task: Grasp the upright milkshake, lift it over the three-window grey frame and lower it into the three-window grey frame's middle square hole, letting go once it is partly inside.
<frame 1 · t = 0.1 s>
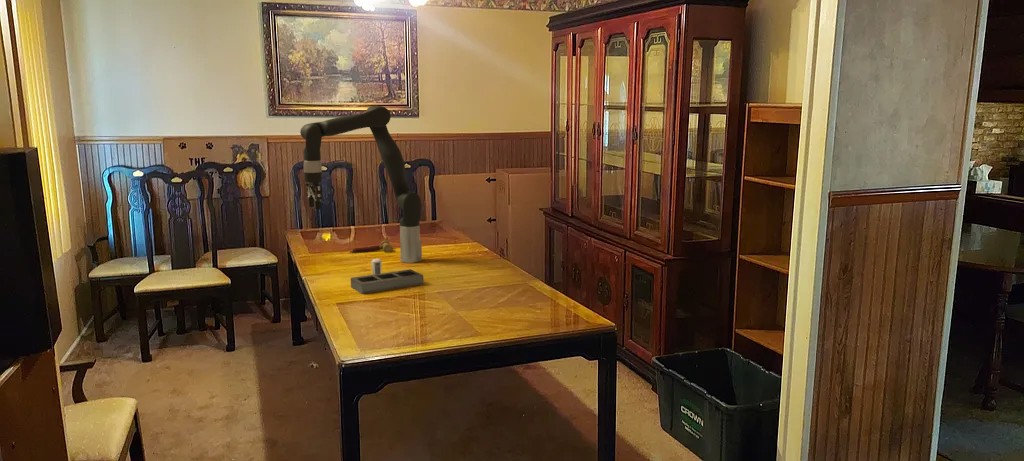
hand: (314, 208, 304), 29 cm above the table, fingers open, 8 cm apart
three-window grey frame: (387, 285, 289), on the table
gavel: (370, 252, 354), on the table
milkshake: (376, 280, 299), on the table
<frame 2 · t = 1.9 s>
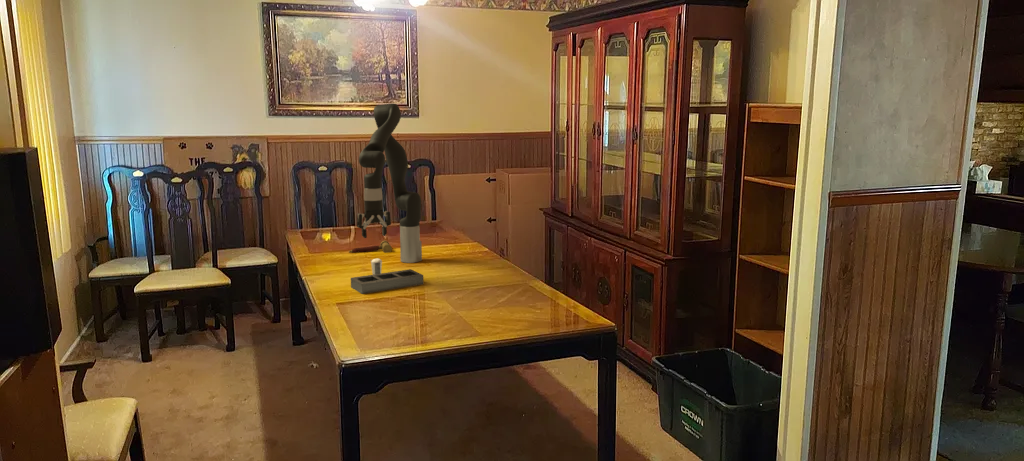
hand: (374, 236, 296), 19 cm above the table, fingers open, 8 cm apart
nothing on the table moved.
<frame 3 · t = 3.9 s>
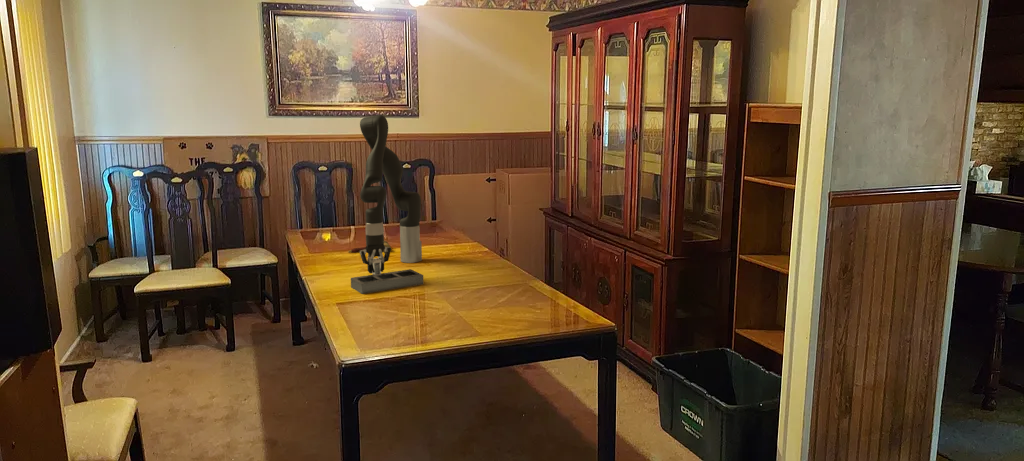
hand: (376, 272, 298), 3 cm above the table, fingers closed on milkshake, 4 cm apart
milkshake: (376, 279, 299), on the table, touching gripper
everything else where it was.
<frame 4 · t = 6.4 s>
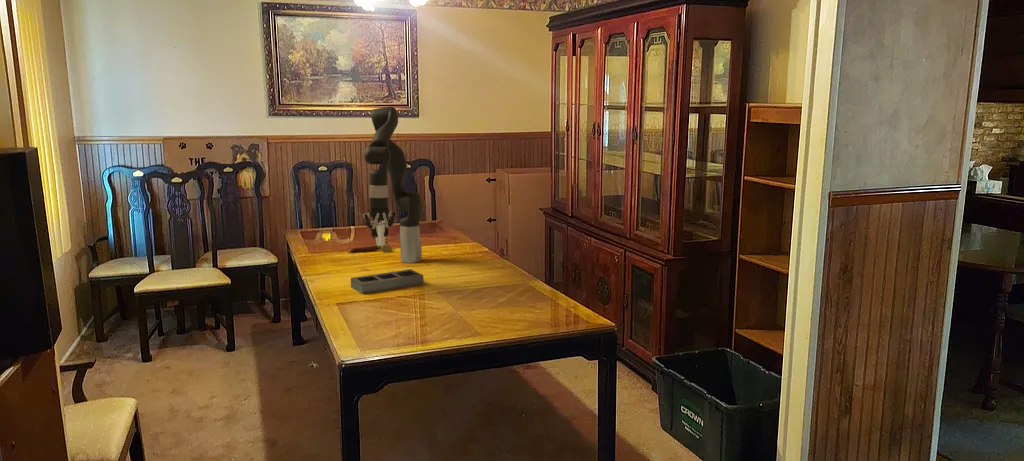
hand: (379, 237, 288), 20 cm above the table, fingers closed on milkshake, 4 cm apart
milkshake: (379, 245, 289), point 17 cm above the table, touching gripper
everything else where it was.
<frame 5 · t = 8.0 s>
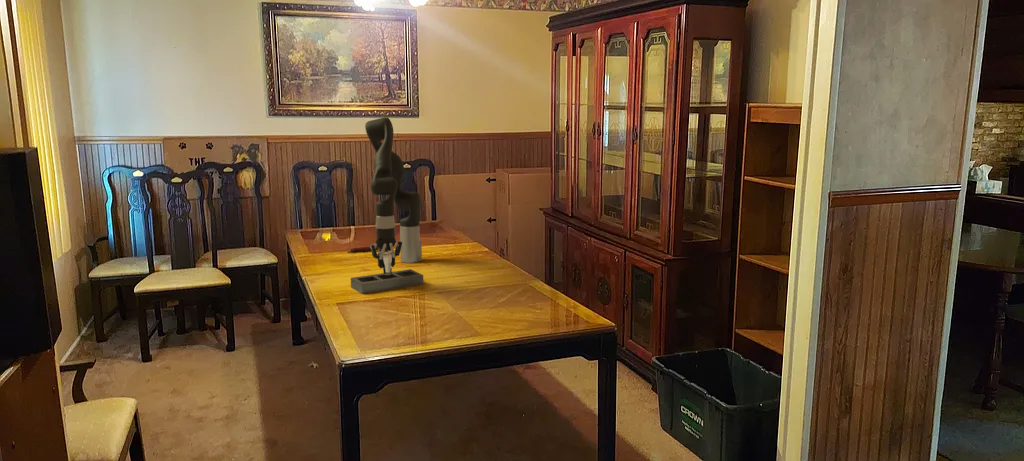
hand: (386, 267, 288), 8 cm above the table, fingers closed on milkshake, 4 cm apart
milkshake: (386, 275, 288), point 5 cm above the table, touching gripper
when the fingers open (5 cm above the table, at t = 9.0 s): milkshake drops 2 cm, on the table.
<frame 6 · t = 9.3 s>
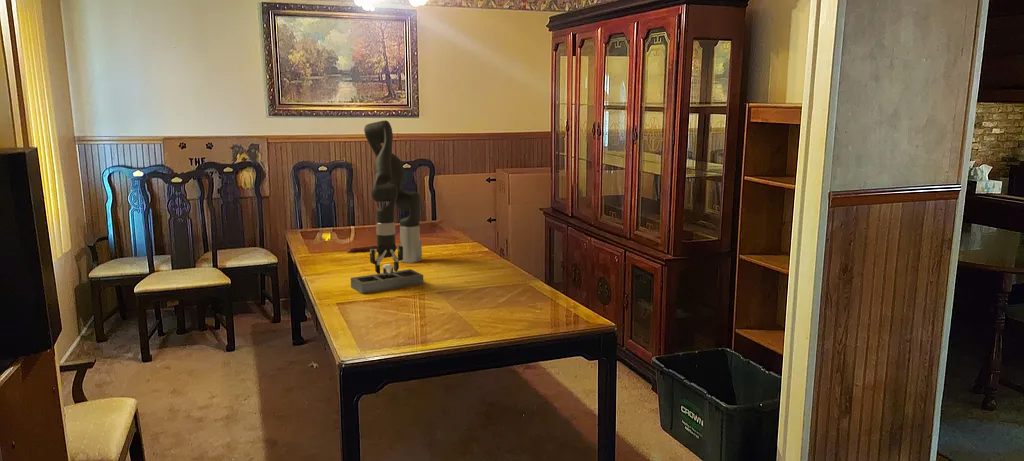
hand: (387, 272, 288), 6 cm above the table, fingers open, 7 cm apart
milkshake: (387, 286, 289), on the table
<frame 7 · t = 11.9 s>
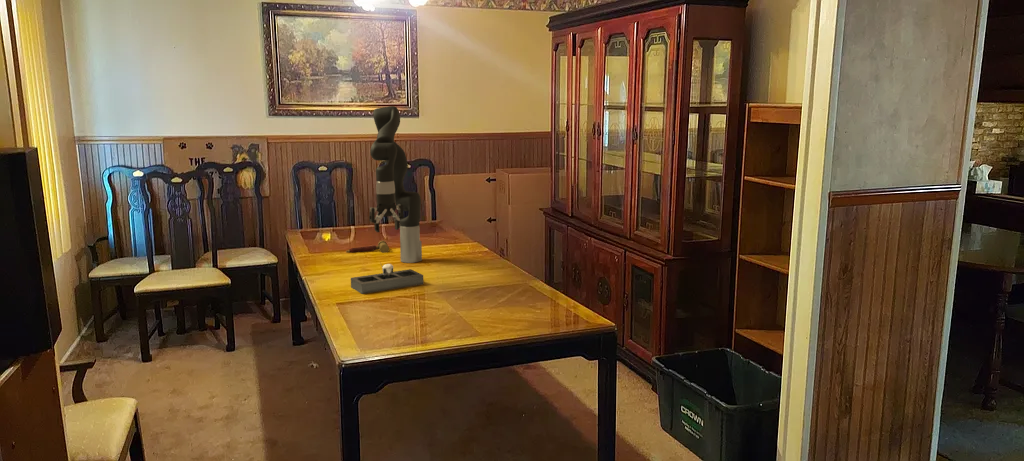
hand: (387, 230, 289), 22 cm above the table, fingers open, 8 cm apart
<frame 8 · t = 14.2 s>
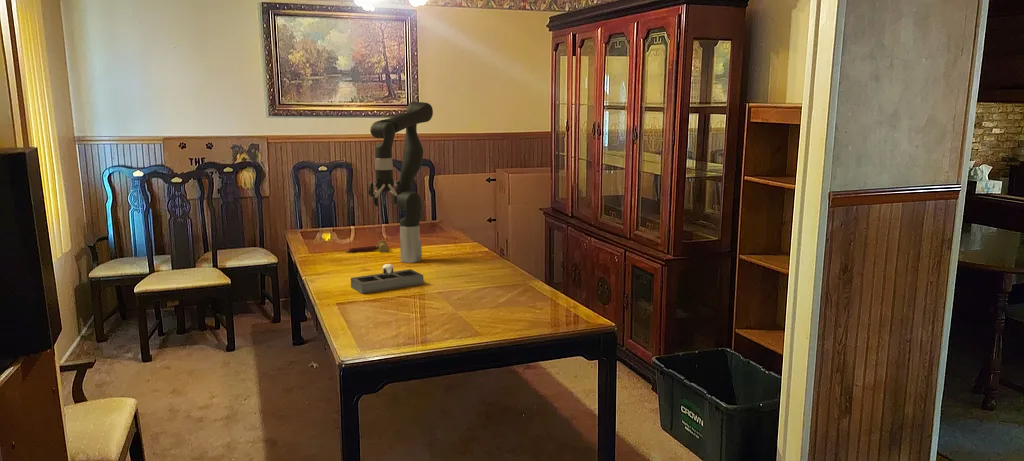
hand: (385, 205, 307), 30 cm above the table, fingers open, 8 cm apart
at the end: milkshake 0.0 cm off-centre on the three-window grey frame, point 0.0 cm above the three-window grey frame's base; milkshake tilted 0°; the gripper is holding nothing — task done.
